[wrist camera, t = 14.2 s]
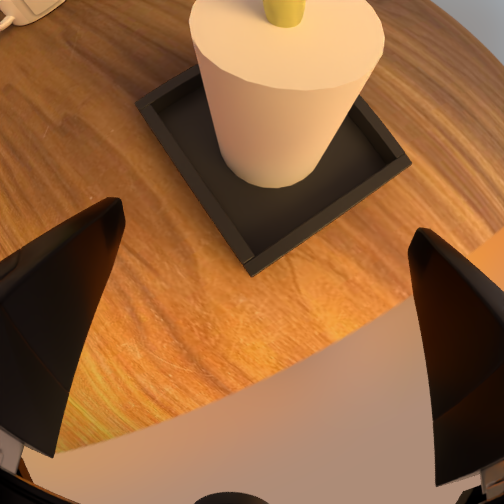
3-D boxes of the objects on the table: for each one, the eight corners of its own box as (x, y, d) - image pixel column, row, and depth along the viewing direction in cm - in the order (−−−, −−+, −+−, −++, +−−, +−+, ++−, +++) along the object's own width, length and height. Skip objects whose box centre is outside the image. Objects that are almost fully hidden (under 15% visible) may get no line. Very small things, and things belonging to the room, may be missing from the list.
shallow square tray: (396, 174, 19) (413, 163, 17) (251, 277, 19) (251, 278, 16) (284, 42, 20) (287, 21, 18) (145, 119, 20) (133, 102, 17)
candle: (338, 117, 19) (442, -79, 4) (299, 206, 18) (430, 16, 3) (247, 79, 19) (244, -134, 4) (200, 162, 18) (102, -58, 3)
